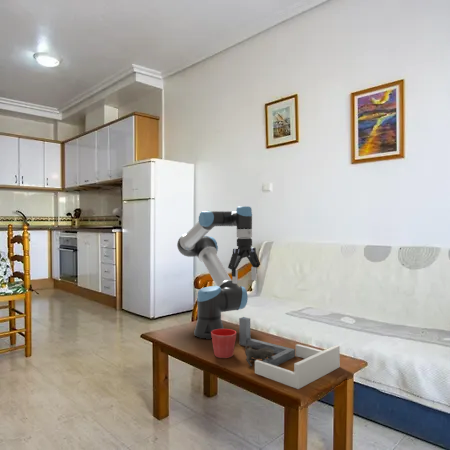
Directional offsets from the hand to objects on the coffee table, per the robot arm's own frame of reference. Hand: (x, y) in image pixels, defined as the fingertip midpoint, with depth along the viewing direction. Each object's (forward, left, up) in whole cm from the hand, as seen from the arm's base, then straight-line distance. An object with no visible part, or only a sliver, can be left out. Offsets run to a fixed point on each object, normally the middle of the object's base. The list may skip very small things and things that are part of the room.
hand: (244, 281), depth 181 cm
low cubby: (+42, -17, -27) cm, 53 cm away
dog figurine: (+28, -22, -27) cm, 45 cm away
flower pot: (+11, -25, -27) cm, 38 cm away
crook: (+20, -16, -27) cm, 37 cm away
